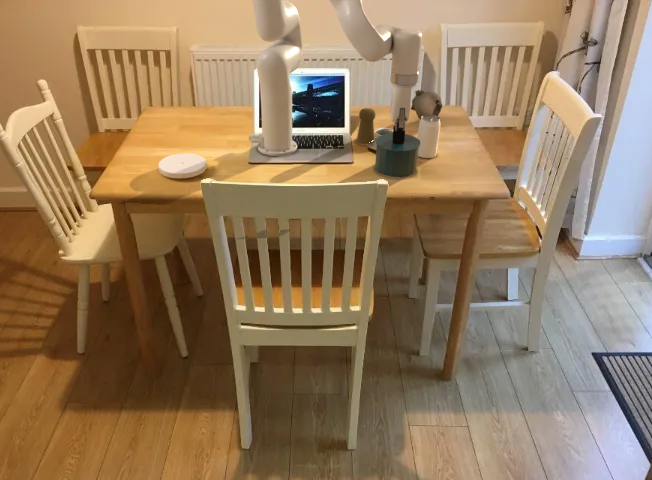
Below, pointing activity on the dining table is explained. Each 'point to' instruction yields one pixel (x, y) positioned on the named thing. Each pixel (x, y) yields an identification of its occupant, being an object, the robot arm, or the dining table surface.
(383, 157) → the pot
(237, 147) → the dining table surface
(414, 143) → the lid
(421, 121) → the can
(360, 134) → the cork
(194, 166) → the plastic lid
